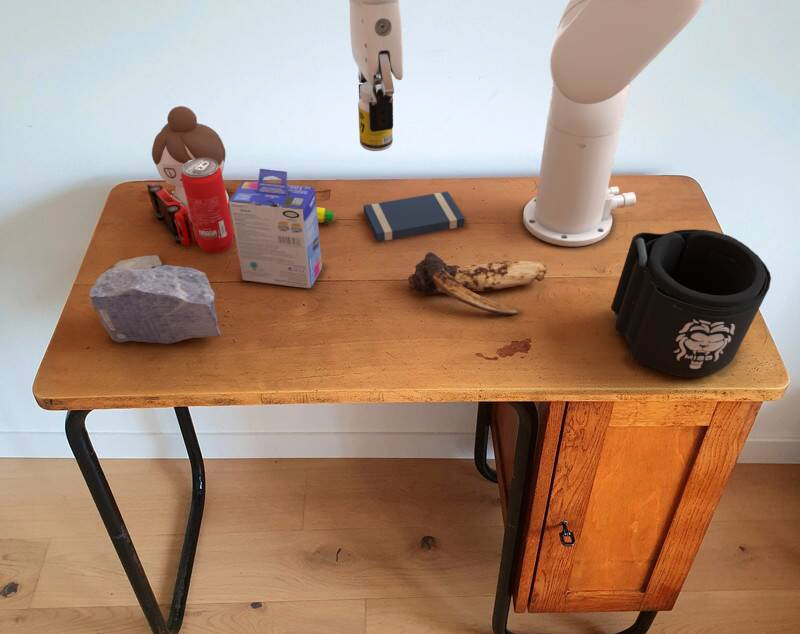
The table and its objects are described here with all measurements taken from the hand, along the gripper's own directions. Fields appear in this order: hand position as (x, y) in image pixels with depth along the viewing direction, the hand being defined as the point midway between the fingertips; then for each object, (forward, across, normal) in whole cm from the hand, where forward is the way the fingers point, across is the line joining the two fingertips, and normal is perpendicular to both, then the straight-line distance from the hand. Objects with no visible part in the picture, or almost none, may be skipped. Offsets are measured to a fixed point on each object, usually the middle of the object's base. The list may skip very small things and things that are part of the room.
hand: (376, 118), depth 108 cm
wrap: (+12, -42, -26) cm, 51 cm away
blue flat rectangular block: (+12, -8, -3) cm, 15 cm away
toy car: (+10, 0, +32) cm, 33 cm away
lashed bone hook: (+12, -27, -6) cm, 30 cm away
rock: (+12, -23, +33) cm, 42 cm away
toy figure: (+10, -2, +20) cm, 22 cm away
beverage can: (+12, -6, +25) cm, 29 cm away
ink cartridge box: (+12, -15, +17) cm, 26 cm away
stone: (+12, -11, +35) cm, 39 cm away
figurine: (+12, +5, +26) cm, 29 cm away
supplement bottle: (+4, 0, 0) cm, 4 cm away
